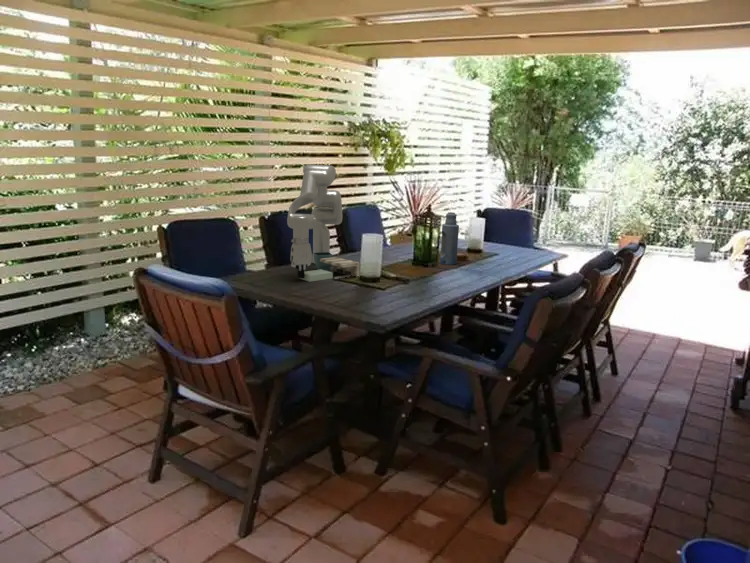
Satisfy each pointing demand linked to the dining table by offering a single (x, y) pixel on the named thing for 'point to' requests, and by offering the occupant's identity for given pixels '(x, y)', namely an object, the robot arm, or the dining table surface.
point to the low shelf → (343, 266)
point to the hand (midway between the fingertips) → (300, 277)
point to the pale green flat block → (317, 275)
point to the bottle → (449, 240)
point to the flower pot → (321, 264)
